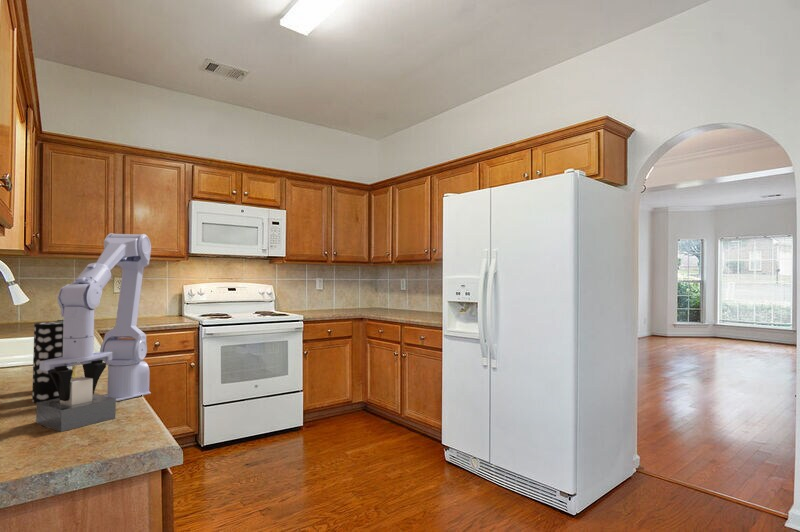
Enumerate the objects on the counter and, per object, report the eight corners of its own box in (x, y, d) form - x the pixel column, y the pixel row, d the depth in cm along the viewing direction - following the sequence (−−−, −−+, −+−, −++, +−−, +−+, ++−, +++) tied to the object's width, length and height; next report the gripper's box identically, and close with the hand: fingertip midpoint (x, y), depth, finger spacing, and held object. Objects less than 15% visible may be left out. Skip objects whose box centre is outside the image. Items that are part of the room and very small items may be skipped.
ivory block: (80, 411, 107) (81, 376, 107) (92, 413, 105) (92, 378, 105) (59, 416, 103) (60, 380, 103) (71, 419, 101) (72, 382, 101)
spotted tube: (66, 393, 127) (68, 320, 128) (76, 398, 122) (78, 322, 123) (28, 399, 121) (30, 322, 122) (37, 405, 116) (39, 325, 116)
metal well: (89, 410, 112) (90, 392, 112) (115, 418, 106) (115, 398, 106) (36, 423, 102) (36, 402, 102) (61, 431, 97) (61, 410, 97)
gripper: (99, 332, 113) (98, 388, 112) (31, 339, 100) (30, 402, 99) (118, 334, 110) (117, 391, 109) (51, 341, 97) (49, 407, 96)
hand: (77, 397), depth 104 cm, fingers open, 5 cm apart
